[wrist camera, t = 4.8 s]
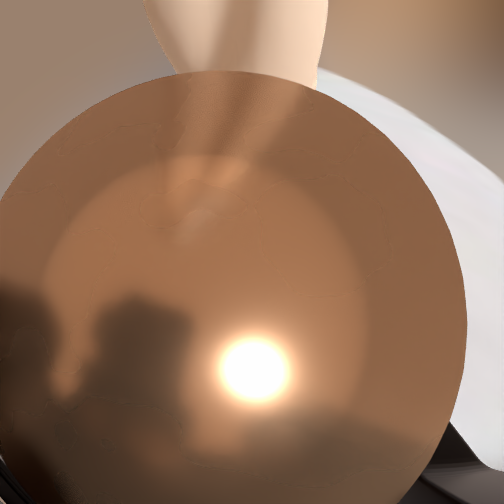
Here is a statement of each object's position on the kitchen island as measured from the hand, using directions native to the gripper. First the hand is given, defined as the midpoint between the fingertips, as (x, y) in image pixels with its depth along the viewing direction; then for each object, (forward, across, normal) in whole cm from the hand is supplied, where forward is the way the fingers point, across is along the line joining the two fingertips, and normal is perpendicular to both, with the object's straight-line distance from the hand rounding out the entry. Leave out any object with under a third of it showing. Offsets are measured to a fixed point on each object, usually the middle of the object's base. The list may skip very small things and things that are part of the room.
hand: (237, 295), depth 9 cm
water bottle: (+14, +4, -4) cm, 15 cm away
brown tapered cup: (+4, 0, +6) cm, 7 cm away
